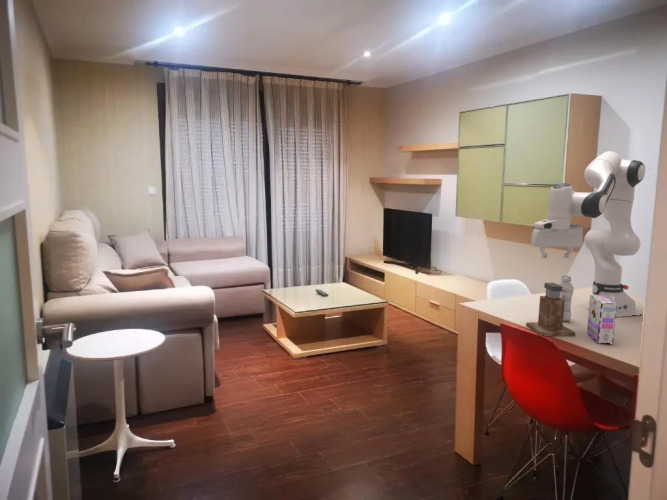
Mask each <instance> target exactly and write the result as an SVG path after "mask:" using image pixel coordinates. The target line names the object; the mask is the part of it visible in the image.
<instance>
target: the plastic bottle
mask: <svg viewBox="0 0 667 500" xmlns="http://www.w3.org/2000/svg"><path fill="white" fill-rule="evenodd" d="M560 281H561V282H560V283H559V284H558V285H560V286H562V291H560V298H561V299H563V300H565V305H564V317H563V322H570V321H571V319H572V309H571V308H572V299H573V298H572V297H573V294H574V290H575V288H574V285H572V283H571V282H572V276H570V275H569V276H568V275H562V276H561V280H560Z"/></svg>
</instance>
